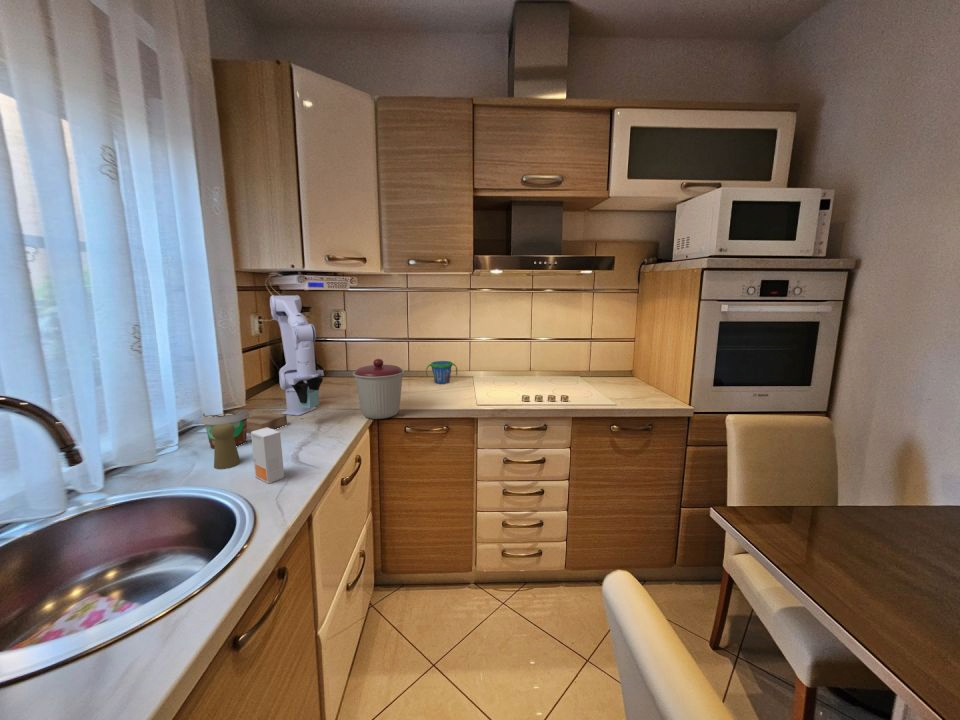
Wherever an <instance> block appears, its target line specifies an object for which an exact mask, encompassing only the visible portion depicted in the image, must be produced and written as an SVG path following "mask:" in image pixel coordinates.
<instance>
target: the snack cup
mask: <svg viewBox="0 0 960 720" xmlns="http://www.w3.org/2000/svg"><path fill="white" fill-rule="evenodd" d="M453 366H454V367H455V376H456V377H457V376H458V366H457V365H456V364H455V363H454V362H452V361H448V360H437V361H432V362H430V363H429V364H428V365H427V366H426V370H425V375H426V377H428V375H429V374H428V368H429V367H431V370H432V375H433V381H434V383H435V384H437V385H444V384H448V383H450V382H451V381H450V380H451V376H452V375H451V373H452V367H453Z"/></svg>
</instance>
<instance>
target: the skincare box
mask: <svg viewBox="0 0 960 720" xmlns="http://www.w3.org/2000/svg"><path fill="white" fill-rule="evenodd" d="M250 437H251V447H252V457H253V465H254V474H255V478H256V479H258V480H261V481H262V482H264V483H266V484H268V485H269V484H271V483H274V482H276V481H279V480H282V479H284V478H285V471H284V470H285V469H284V461H283V448H282V437H281V432H280V431H278V430H274V429H270V428H263V429H259V430H256V431H252V432H251V433H250Z"/></svg>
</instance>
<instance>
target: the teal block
mask: <svg viewBox="0 0 960 720" xmlns="http://www.w3.org/2000/svg"><path fill="white" fill-rule="evenodd" d="M298 401H299V407H305V408H311V407H316V406H319V405H320V395H319V391H318V390H310V389H308V390H307V403H300V400H299V398H298Z"/></svg>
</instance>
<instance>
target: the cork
mask: <svg viewBox="0 0 960 720" xmlns="http://www.w3.org/2000/svg"><path fill="white" fill-rule="evenodd" d="M234 433H235V427H234V425H233V424H230V423H224V424H219V425H216V426H214V427H213V428H212V436H213V437H214V438H215V449H214V450H213V451H214V453H213V454H214V457H213V459H214V460H213V468H214V469H216V470H225V469H226V468H227V469H231V468H233V467H236V466H238V465H240V464H239V463H241V459H240V456H239V451H238V448H237V447H238V446H237V447H236V444H235V440H234V437H233V435H234ZM227 469H226V470H227Z"/></svg>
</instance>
